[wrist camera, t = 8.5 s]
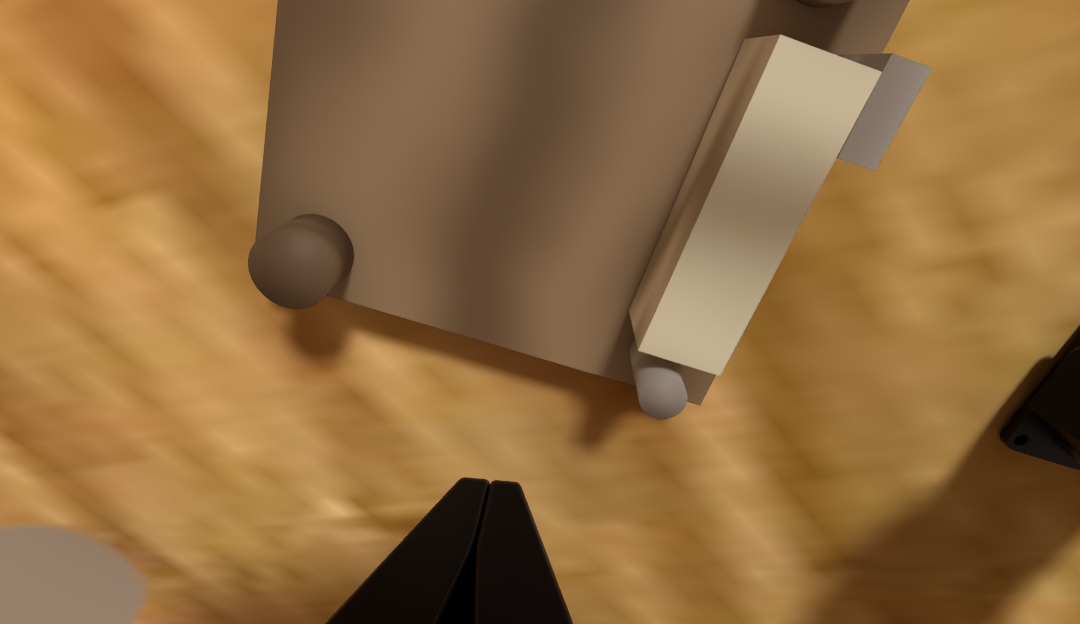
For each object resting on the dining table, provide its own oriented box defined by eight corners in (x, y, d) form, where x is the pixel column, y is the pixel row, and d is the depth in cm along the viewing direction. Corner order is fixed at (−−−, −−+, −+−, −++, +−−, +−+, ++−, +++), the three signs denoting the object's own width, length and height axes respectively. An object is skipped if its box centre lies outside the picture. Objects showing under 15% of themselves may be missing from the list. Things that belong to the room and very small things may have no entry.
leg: (699, 332, 18) (720, 376, 16) (628, 310, 18) (637, 350, 16) (829, 70, 15) (882, 72, 13) (744, 38, 15) (780, 34, 12)
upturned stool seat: (906, -65, 15) (1046, -117, 11) (689, 376, 22) (720, 460, 17) (341, -278, 14) (234, -436, 10) (280, 254, 20) (197, 310, 16)
